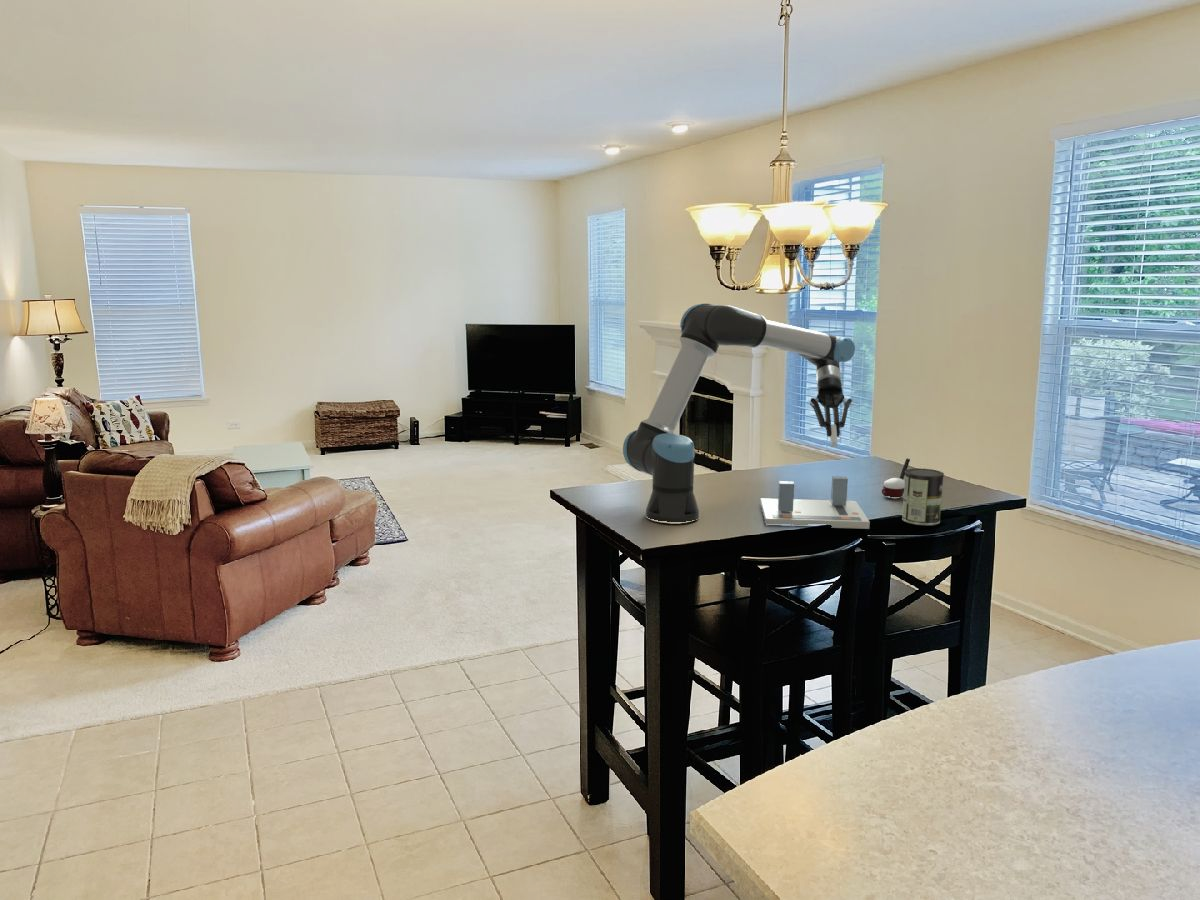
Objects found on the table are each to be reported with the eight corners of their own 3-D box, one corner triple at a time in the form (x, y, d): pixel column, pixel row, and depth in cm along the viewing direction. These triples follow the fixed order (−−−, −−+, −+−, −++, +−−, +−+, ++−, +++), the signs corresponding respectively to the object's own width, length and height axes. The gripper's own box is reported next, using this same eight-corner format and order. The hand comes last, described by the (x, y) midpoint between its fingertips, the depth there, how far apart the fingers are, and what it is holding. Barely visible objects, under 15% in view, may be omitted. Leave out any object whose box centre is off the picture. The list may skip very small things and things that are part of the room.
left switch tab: (778, 510, 247) (779, 483, 245) (777, 508, 250) (778, 481, 248) (792, 511, 246) (794, 484, 245) (791, 508, 249) (793, 481, 247)
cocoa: (882, 501, 268) (884, 463, 265) (876, 495, 274) (877, 458, 271) (913, 500, 268) (915, 462, 265) (906, 494, 274) (908, 457, 271)
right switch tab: (832, 505, 253) (833, 478, 251) (830, 502, 256) (832, 476, 254) (846, 505, 252) (847, 478, 251) (844, 502, 255) (846, 476, 253)
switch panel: (765, 525, 241) (765, 518, 241) (760, 504, 263) (760, 497, 262) (869, 528, 238) (869, 521, 238) (855, 507, 260) (855, 500, 259)
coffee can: (936, 516, 250) (940, 468, 247) (943, 526, 240) (947, 477, 237) (899, 514, 252) (902, 467, 249) (904, 524, 242) (907, 475, 239)
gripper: (848, 390, 280) (854, 451, 268) (807, 389, 282) (811, 450, 269) (851, 376, 274) (858, 438, 261) (809, 375, 275) (814, 437, 263)
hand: (834, 444), depth 265 cm, fingers closed
